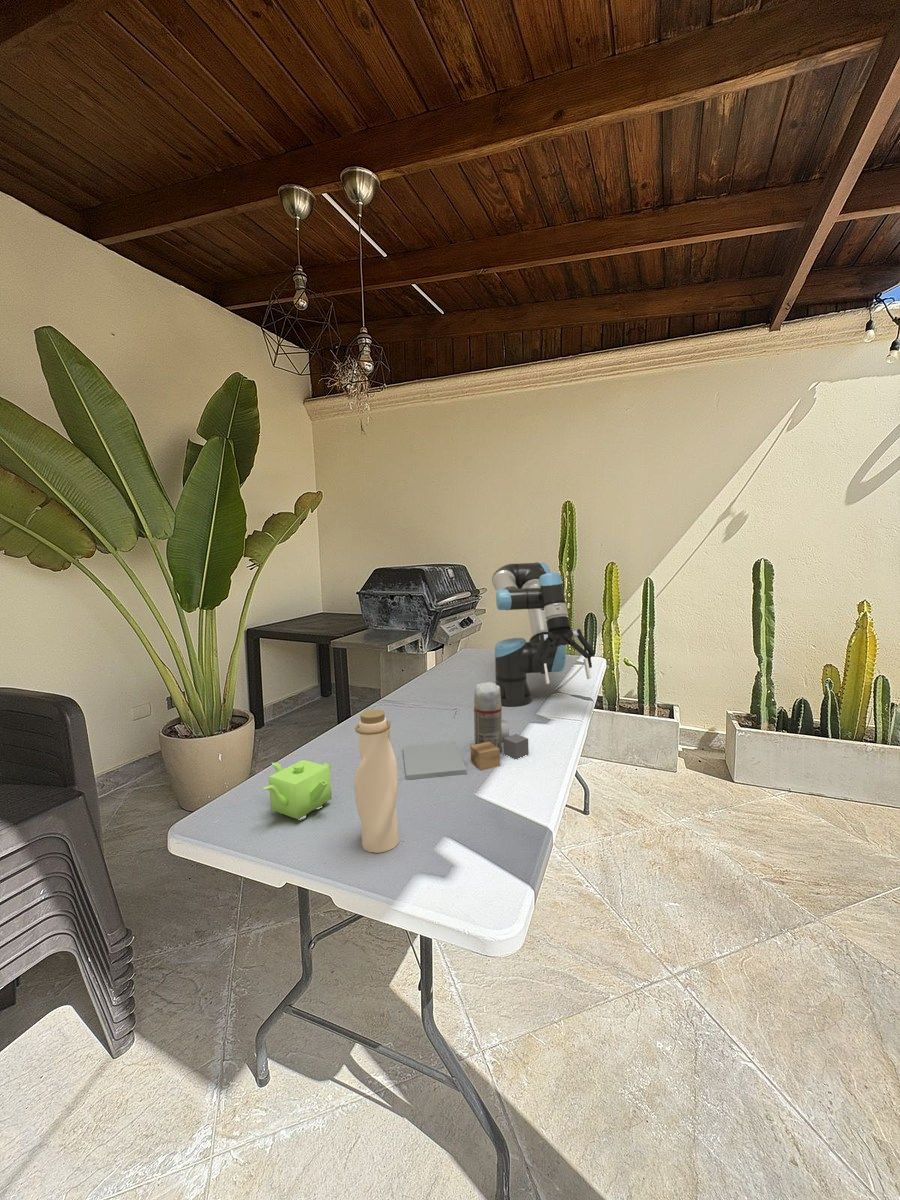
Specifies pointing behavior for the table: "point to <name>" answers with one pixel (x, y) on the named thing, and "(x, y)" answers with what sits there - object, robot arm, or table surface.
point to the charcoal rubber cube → (516, 746)
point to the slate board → (433, 760)
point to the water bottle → (376, 783)
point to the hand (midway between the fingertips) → (568, 681)
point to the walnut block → (485, 755)
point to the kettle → (299, 788)
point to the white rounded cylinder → (504, 729)
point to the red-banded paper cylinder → (487, 714)
